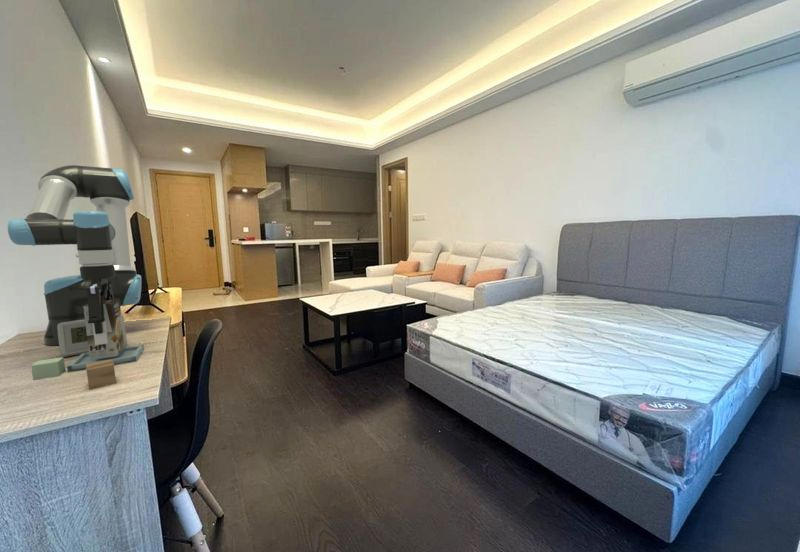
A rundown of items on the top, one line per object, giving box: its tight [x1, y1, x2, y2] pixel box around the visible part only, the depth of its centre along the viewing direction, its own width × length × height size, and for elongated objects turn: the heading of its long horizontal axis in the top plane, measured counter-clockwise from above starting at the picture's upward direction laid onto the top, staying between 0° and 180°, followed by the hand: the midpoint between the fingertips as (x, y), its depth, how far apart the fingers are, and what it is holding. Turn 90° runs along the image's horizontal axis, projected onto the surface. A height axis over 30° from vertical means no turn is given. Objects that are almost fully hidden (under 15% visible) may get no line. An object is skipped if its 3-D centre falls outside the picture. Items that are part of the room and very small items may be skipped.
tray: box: [66, 344, 145, 373], centre depth 99 cm, size 12×15×2 cm
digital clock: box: [57, 314, 128, 358], centre depth 107 cm, size 16×9×11 cm, turn 122°
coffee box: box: [83, 299, 126, 360], centre depth 98 cm, size 9×6×16 cm
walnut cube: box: [85, 360, 117, 390], centre depth 83 cm, size 5×5×5 cm
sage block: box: [30, 356, 66, 381], centre depth 88 cm, size 4×5×4 cm
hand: (106, 339), depth 98 cm, fingers closed on coffee box, 9 cm apart
